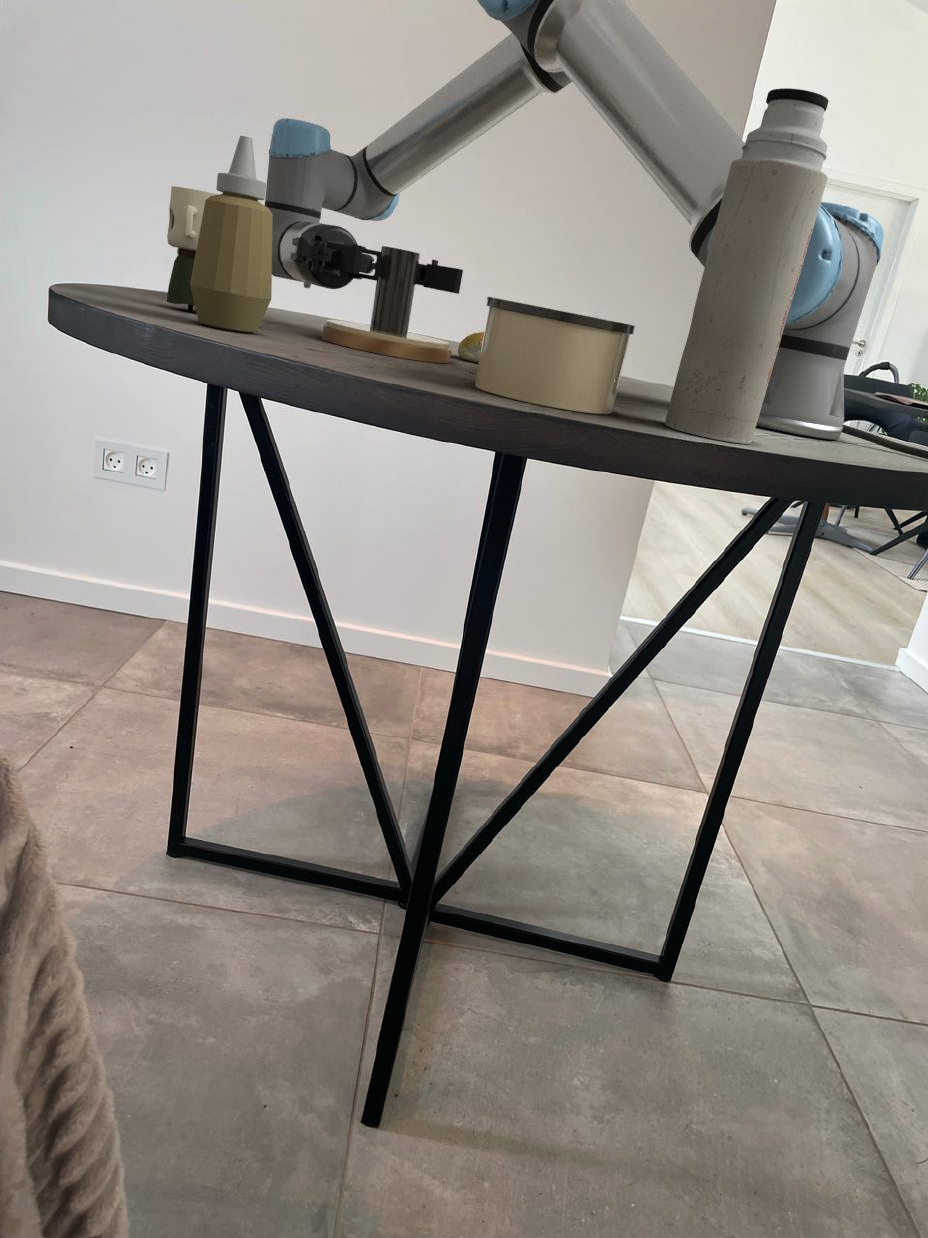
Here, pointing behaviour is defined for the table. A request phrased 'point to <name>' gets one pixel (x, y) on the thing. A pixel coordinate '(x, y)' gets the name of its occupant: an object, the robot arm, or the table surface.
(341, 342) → the trivet
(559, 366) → the pot
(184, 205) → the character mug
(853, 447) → the table surface
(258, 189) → the squeeze bottle
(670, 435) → the table surface
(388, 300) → the lid
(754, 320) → the thermos bottle
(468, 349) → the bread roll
